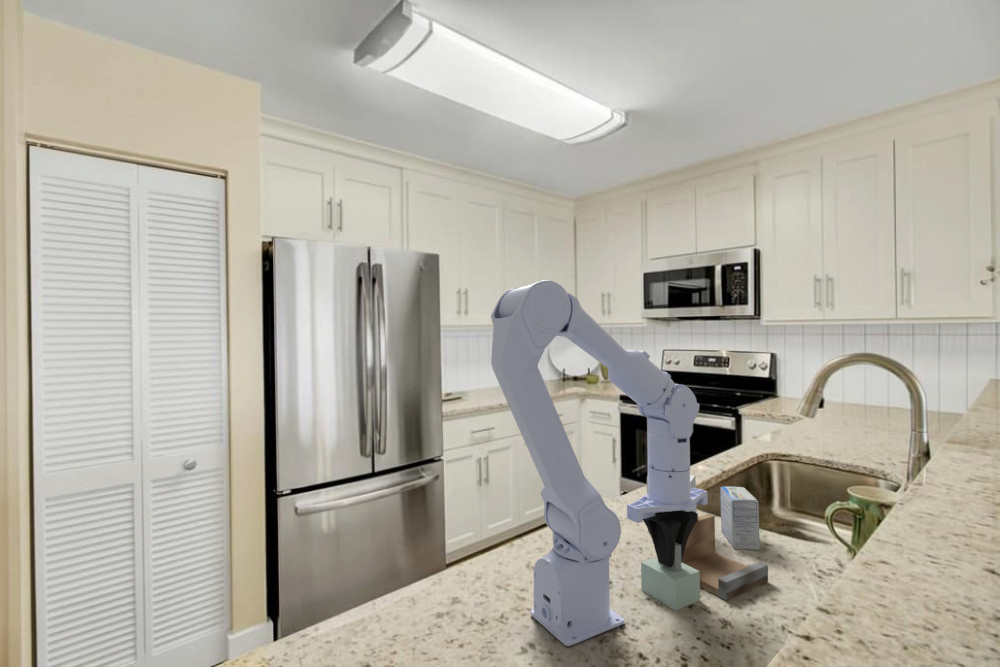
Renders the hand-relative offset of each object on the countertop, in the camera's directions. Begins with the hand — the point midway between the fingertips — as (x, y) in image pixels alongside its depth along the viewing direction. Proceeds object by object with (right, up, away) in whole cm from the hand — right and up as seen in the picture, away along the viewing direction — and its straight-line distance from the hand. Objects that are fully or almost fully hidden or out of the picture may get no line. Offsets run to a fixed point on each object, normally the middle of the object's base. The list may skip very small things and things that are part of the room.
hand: (669, 562), depth 66 cm
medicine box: (+19, -5, +18) cm, 27 cm away
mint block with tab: (0, -5, 0) cm, 5 cm away
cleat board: (+9, -5, +5) cm, 11 cm away
